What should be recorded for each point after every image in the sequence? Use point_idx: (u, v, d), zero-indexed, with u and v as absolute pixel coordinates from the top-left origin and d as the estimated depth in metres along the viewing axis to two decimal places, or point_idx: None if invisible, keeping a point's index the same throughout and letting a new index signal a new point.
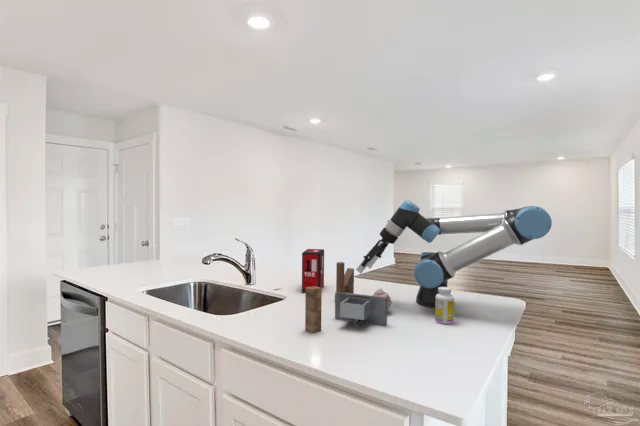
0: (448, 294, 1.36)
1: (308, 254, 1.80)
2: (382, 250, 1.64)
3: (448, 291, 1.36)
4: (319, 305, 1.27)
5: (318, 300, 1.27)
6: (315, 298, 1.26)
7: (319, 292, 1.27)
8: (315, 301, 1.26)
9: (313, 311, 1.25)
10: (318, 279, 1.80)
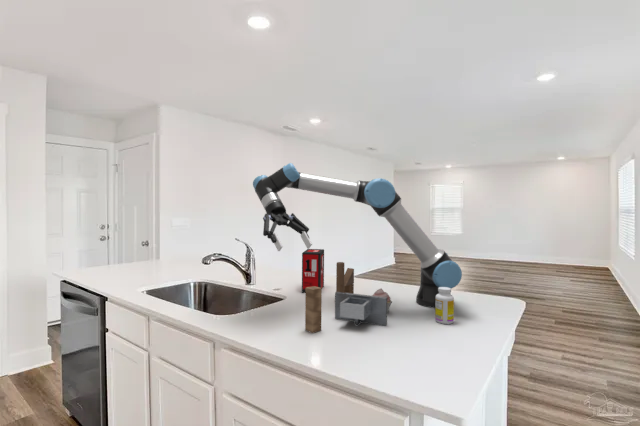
0: (448, 294, 1.36)
1: (308, 254, 1.80)
2: (293, 222, 1.43)
3: (448, 291, 1.36)
4: (319, 305, 1.27)
5: (318, 300, 1.27)
6: (315, 298, 1.26)
7: (319, 292, 1.27)
8: (315, 301, 1.26)
9: (313, 311, 1.25)
10: (318, 279, 1.80)
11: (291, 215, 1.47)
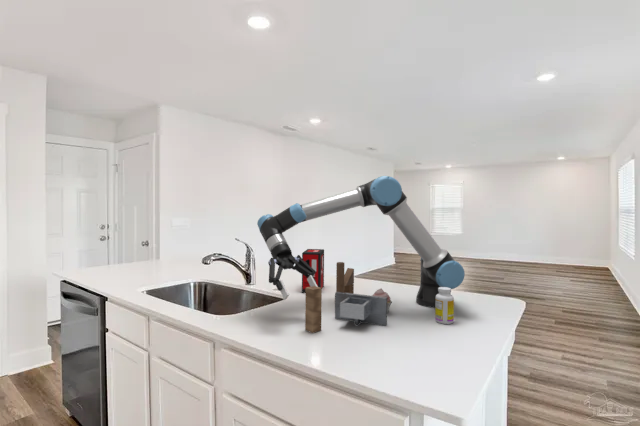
0: (448, 294, 1.36)
1: (308, 254, 1.80)
2: (299, 266, 1.39)
3: (448, 291, 1.36)
4: (319, 305, 1.27)
5: (318, 300, 1.27)
6: (315, 298, 1.26)
7: (319, 292, 1.27)
8: (315, 301, 1.26)
9: (313, 311, 1.25)
10: (318, 279, 1.80)
11: (297, 257, 1.43)
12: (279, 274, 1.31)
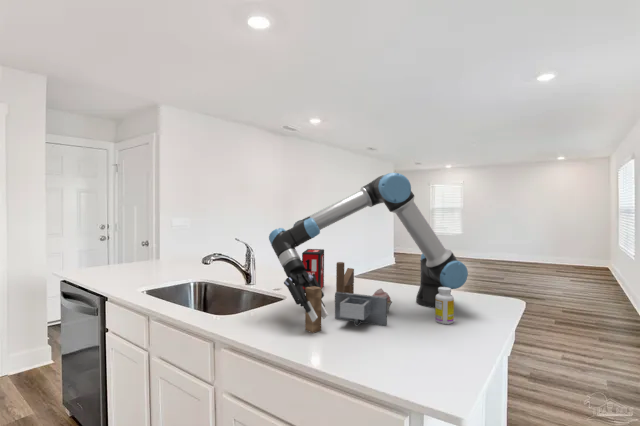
0: (448, 294, 1.36)
1: (308, 254, 1.80)
2: (310, 285, 1.32)
3: (448, 291, 1.36)
4: (319, 305, 1.27)
5: (318, 300, 1.27)
6: (315, 298, 1.26)
7: (319, 292, 1.27)
8: (315, 301, 1.26)
9: None
10: (318, 279, 1.80)
11: (312, 275, 1.37)
12: (303, 294, 1.27)
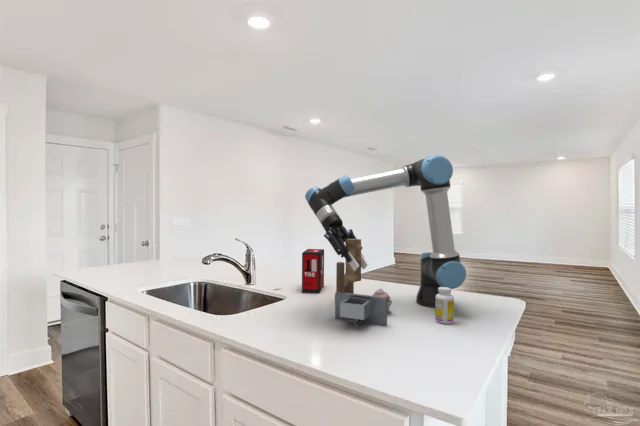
0: (448, 294, 1.36)
1: (308, 254, 1.80)
2: (348, 238, 1.36)
3: (448, 291, 1.36)
4: (359, 256, 1.31)
5: (358, 251, 1.31)
6: (356, 248, 1.30)
7: (359, 243, 1.31)
8: (356, 252, 1.30)
9: None
10: (318, 279, 1.80)
11: (349, 230, 1.41)
12: (344, 246, 1.32)
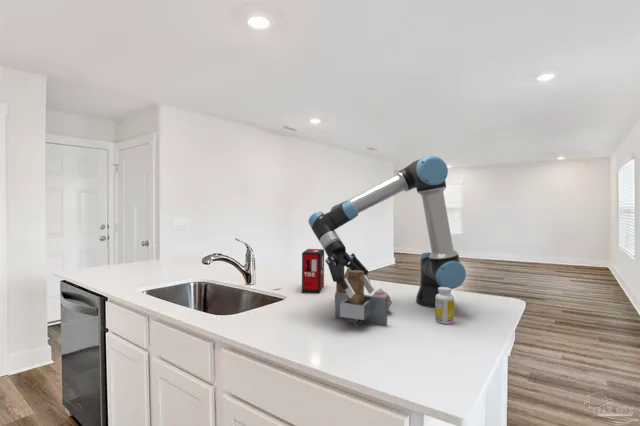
0: (448, 294, 1.36)
1: (308, 254, 1.80)
2: (353, 264, 1.38)
3: (448, 291, 1.36)
4: (362, 288, 1.32)
5: (361, 283, 1.32)
6: (359, 281, 1.31)
7: (362, 275, 1.32)
8: (358, 284, 1.31)
9: (356, 293, 1.30)
10: (318, 279, 1.80)
11: (351, 255, 1.42)
12: (341, 272, 1.31)
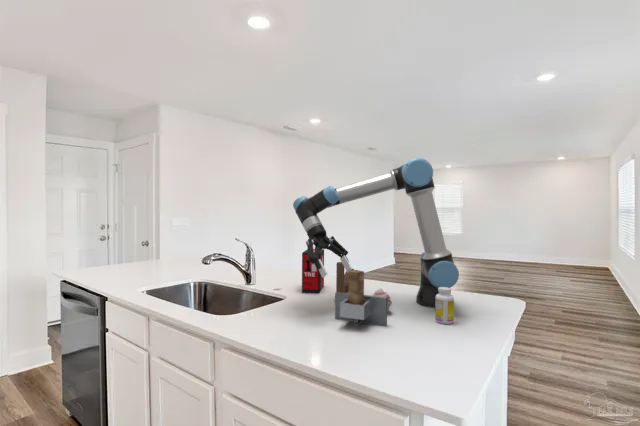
0: (448, 294, 1.36)
1: None
2: (333, 246, 1.49)
3: (448, 291, 1.36)
4: (362, 288, 1.32)
5: (361, 283, 1.32)
6: (359, 281, 1.31)
7: (362, 275, 1.32)
8: (358, 284, 1.31)
9: (356, 293, 1.30)
10: (318, 279, 1.80)
11: (331, 238, 1.52)
12: (317, 254, 1.41)
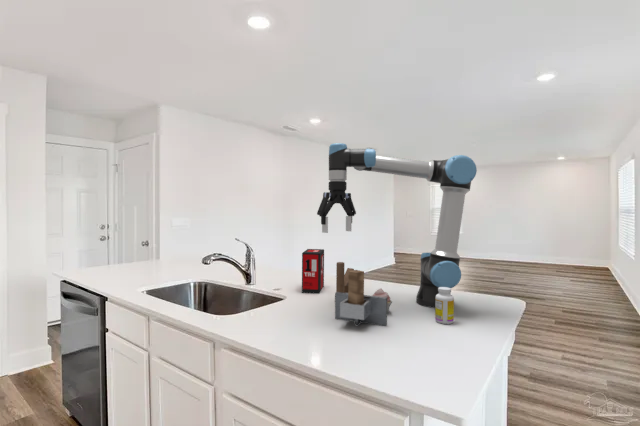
0: (448, 294, 1.36)
1: (308, 254, 1.80)
2: (345, 205, 1.54)
3: (448, 291, 1.36)
4: (362, 288, 1.32)
5: (361, 283, 1.32)
6: (359, 281, 1.31)
7: (362, 275, 1.32)
8: (358, 284, 1.31)
9: (356, 293, 1.30)
10: (318, 279, 1.80)
11: (348, 194, 1.55)
12: (328, 211, 1.47)
